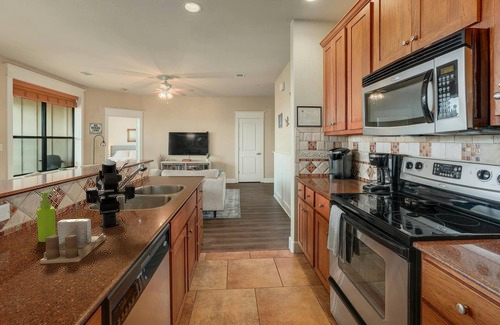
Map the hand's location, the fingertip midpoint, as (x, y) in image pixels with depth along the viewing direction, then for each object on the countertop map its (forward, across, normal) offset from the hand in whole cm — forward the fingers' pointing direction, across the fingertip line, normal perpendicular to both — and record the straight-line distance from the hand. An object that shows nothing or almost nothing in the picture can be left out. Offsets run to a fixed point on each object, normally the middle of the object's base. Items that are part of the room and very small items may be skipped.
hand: (113, 203), depth 106 cm
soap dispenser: (-10, -23, +21) cm, 33 cm away
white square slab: (+9, -13, +11) cm, 20 cm away
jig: (+8, -13, +13) cm, 20 cm away
